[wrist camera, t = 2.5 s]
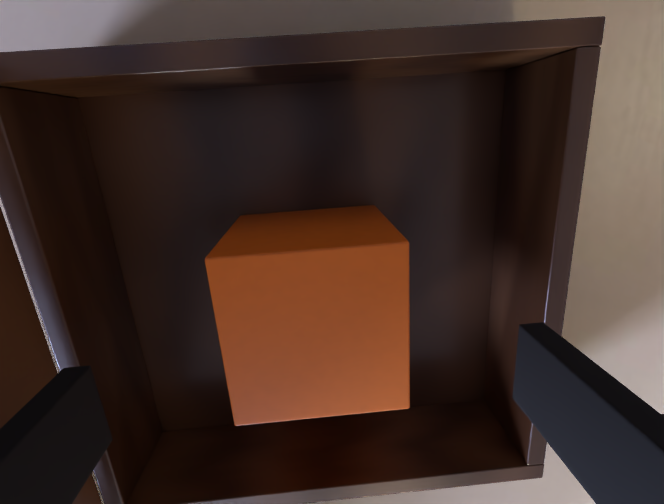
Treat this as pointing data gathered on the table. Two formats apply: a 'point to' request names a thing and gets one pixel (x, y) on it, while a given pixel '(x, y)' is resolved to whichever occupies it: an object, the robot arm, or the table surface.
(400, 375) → the cube
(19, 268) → the lid
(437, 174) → the box
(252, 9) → the table surface
